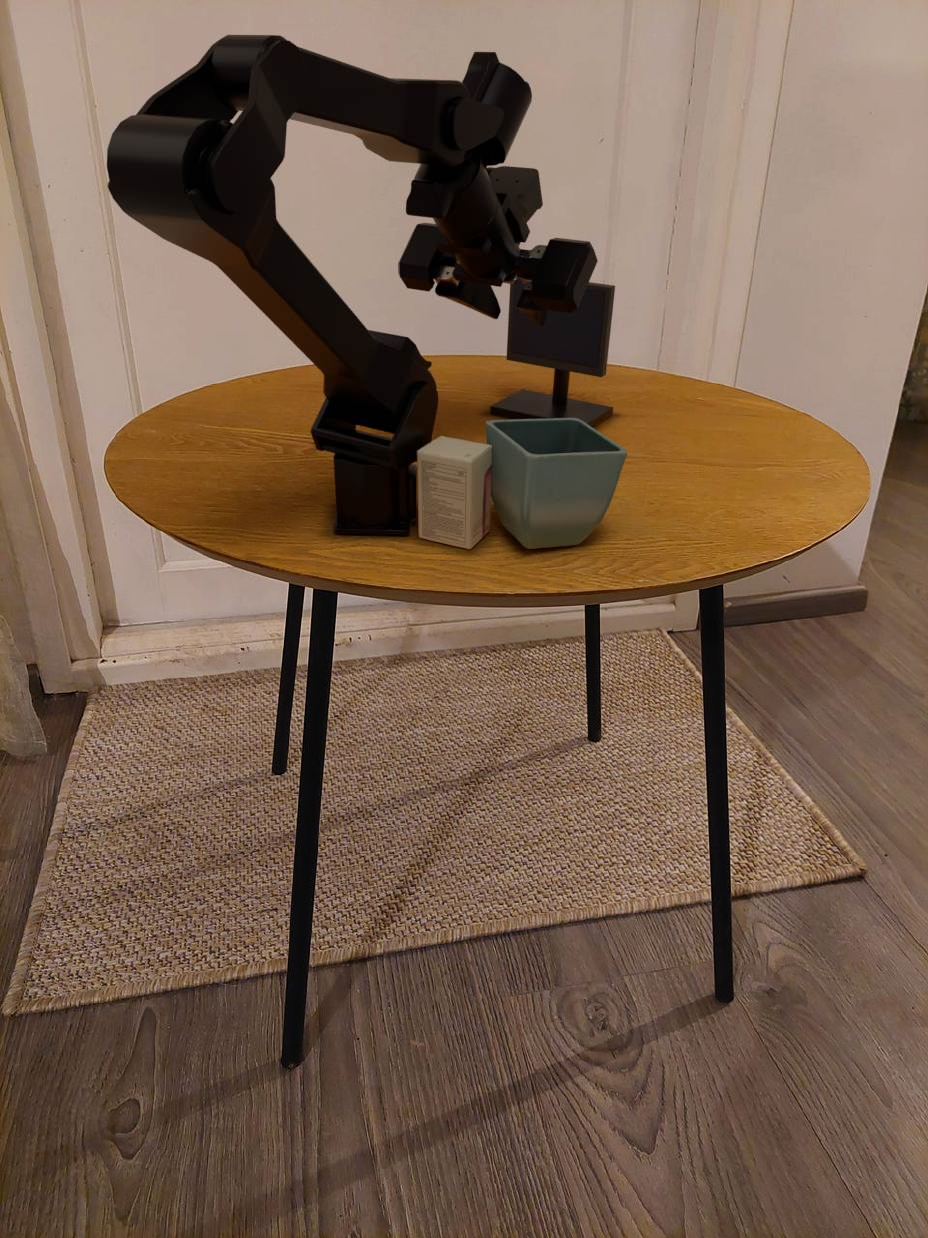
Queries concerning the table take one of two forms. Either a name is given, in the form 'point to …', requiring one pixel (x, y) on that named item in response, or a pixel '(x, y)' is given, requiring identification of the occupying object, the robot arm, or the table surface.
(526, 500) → the flower pot
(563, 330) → the monitor screen
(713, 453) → the table surface
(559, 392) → the monitor stand
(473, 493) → the small box
